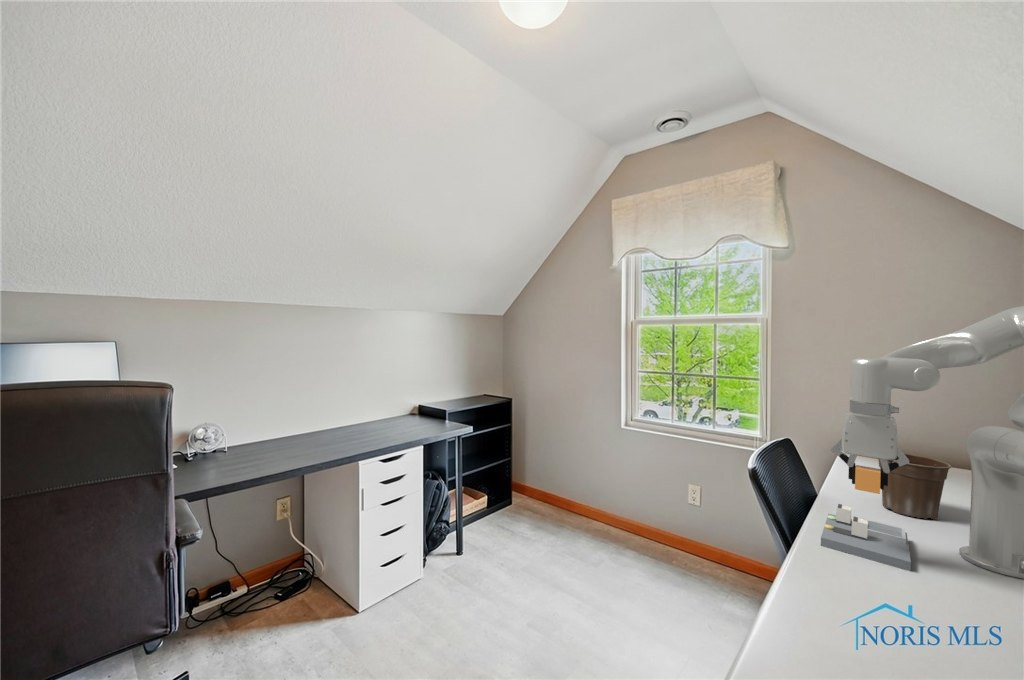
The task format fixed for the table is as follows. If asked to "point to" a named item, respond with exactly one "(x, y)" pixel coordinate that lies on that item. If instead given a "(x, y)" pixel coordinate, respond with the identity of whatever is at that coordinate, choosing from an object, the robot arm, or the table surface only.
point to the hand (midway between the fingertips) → (867, 484)
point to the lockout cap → (867, 479)
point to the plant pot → (915, 487)
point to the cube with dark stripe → (859, 527)
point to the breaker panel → (869, 542)
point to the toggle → (843, 513)
